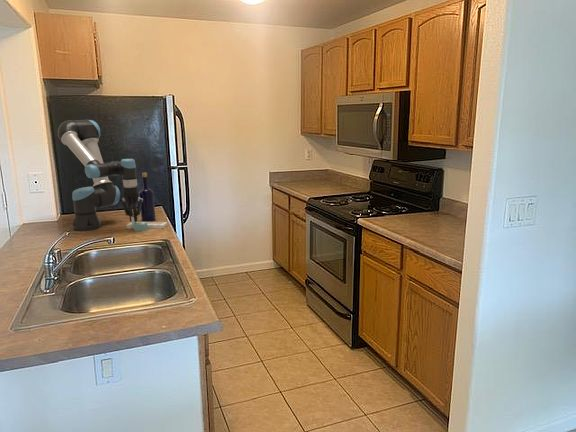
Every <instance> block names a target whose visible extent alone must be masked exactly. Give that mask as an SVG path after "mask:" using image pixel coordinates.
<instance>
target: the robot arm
mask: <svg viewBox="0 0 576 432" xmlns="http://www.w3.org/2000/svg"><path fill="white" fill-rule="evenodd" d="M57 137H58V139H59V140H60V142H61V143H62V144H63V145H64V146H67V147H68V148H69V150H70V151H71V152H72V153H73V154H74V155H75V157H76V158H77V159H78V160H79V161H80V162H81V164H82V165H83V166H84V173H85V175H86V177H87V178H88V179H92V181H93V185H92V186H86V187H85V186H83V187H78V188H75V190H73V191H72V192H71V193H72V194H71V195H72V196H71V197H72V198H71V199H72V204H73V211H74V212H73V213H74V218H73V223H72V230H74V231H77V232H78V231H79V232H81V231H84V232H85V231H91V230H97V229H100V228H101V227H102V222H101V220H100V218H99V216H98V214H97V209H102V208H105V207H112V206H115V205H117V204H118V203H119V202H120V203H121V204H122V207H123V210H124V213H125V215H126V216H128V217H129V221H130V222H132V228H131V229H134V225H133V224H135V223H136V222H138V216H141V205H142V201H143V198H142V199H141V198H140V197H139V188H138V179H137V178H138V177H137V165H136V160H135V159H133V158H121V160H120V161H118V160H116V161H111V162H104V160H103V157H102V154H101V151H100V148H99V141H100V140H99V139H100V138H101V128H100V126H99V123H97V122H96V121H95V120H92V119H77V120H76V119H74V120H73V119H72V120H71V119H68V120H64V121H63V122H61V123H60V124H59V127H58V129H57ZM115 176H121V178H122V179H121V180H122V186H123V189H122V190H123V197H122V198H120V197H121V191H120V189H119V187H118V186H117V185H114V182H112V181H111V180H110V178H109V177H115ZM137 202H138V203H137ZM130 222H129V223H130Z"/></svg>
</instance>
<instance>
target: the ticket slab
mask: <svg viewBox="0 0 576 432" xmlns="http://www.w3.org/2000/svg"><path fill="white" fill-rule="evenodd" d="M137 222H138V221H137ZM137 222H136V223H137ZM167 225H169V223H168V221H153V222H147V227H148V229H147V230H151V229H152V230H153V229H154V230H155V229H156V230H158V229H159V230H162V229H161V228H164V229H165V228H166V227H167ZM125 227H126V229H133V228H132V222H128V223H127V224H126V225H125Z"/></svg>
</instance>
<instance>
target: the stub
mask: <svg viewBox="0 0 576 432" xmlns="http://www.w3.org/2000/svg"><path fill="white" fill-rule="evenodd" d="M133 225H134V228H133V232H146V231H147V230H149V229H148V227H147V222H142V221H137V223H135V224H133Z"/></svg>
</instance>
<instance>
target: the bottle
mask: <svg viewBox="0 0 576 432" xmlns="http://www.w3.org/2000/svg"><path fill="white" fill-rule="evenodd" d="M141 174H142V175H141V176H142V177H141V178H142V184H143V188H141V190H140V191H138V195H139V197H140V198H141V199H142V198H143V201H142V205H141V212H140V218H141V219H140V221H141V222H157V219H156V209H155V197H154V191H153V190H152V189H151V188H149V185H148V184H149V183H148V178H149V177H148V173H147V172H142V173H141Z"/></svg>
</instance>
